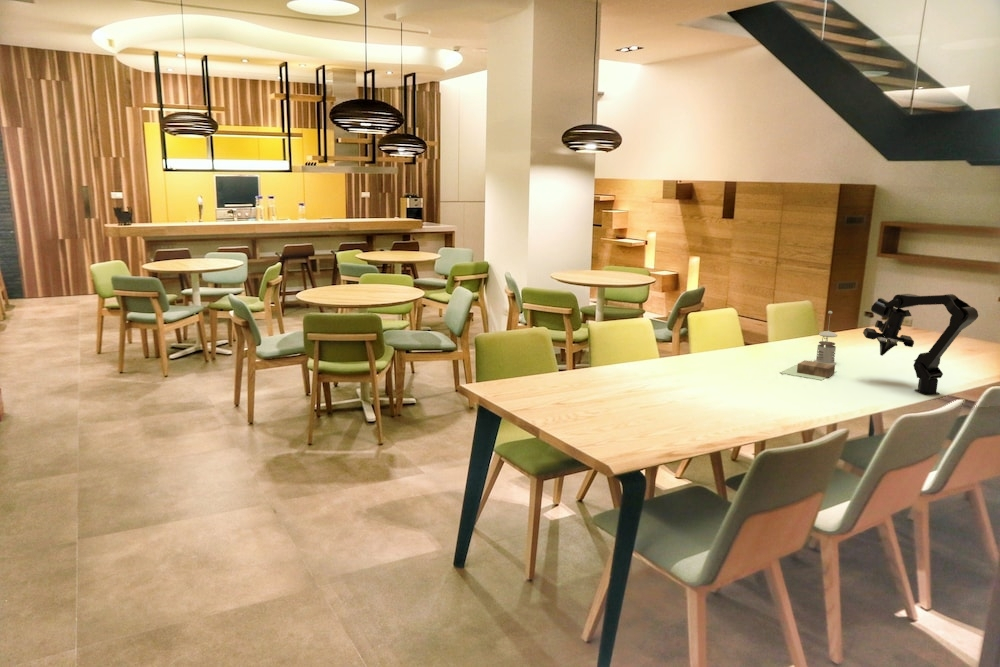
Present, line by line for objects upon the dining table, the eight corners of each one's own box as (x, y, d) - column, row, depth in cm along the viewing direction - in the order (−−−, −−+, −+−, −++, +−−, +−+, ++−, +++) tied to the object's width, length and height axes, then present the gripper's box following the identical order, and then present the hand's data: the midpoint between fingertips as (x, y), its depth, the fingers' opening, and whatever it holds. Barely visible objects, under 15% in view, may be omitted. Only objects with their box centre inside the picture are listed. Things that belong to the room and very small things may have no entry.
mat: (836, 372, 313) (836, 371, 312) (821, 380, 298) (821, 379, 298) (795, 365, 324) (796, 364, 324) (779, 373, 310) (779, 372, 310)
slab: (835, 365, 307) (804, 360, 316) (828, 368, 301) (797, 363, 309) (834, 373, 308) (804, 368, 317) (827, 377, 302) (796, 372, 310)
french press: (815, 364, 326) (821, 312, 321) (811, 358, 337) (816, 308, 332) (838, 365, 324) (844, 313, 319) (833, 360, 335) (838, 309, 330)
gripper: (912, 319, 296) (899, 352, 303) (866, 310, 299) (854, 343, 306) (920, 329, 286) (906, 362, 293) (872, 320, 289) (860, 353, 296)
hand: (881, 355), depth 297 cm, fingers closed
